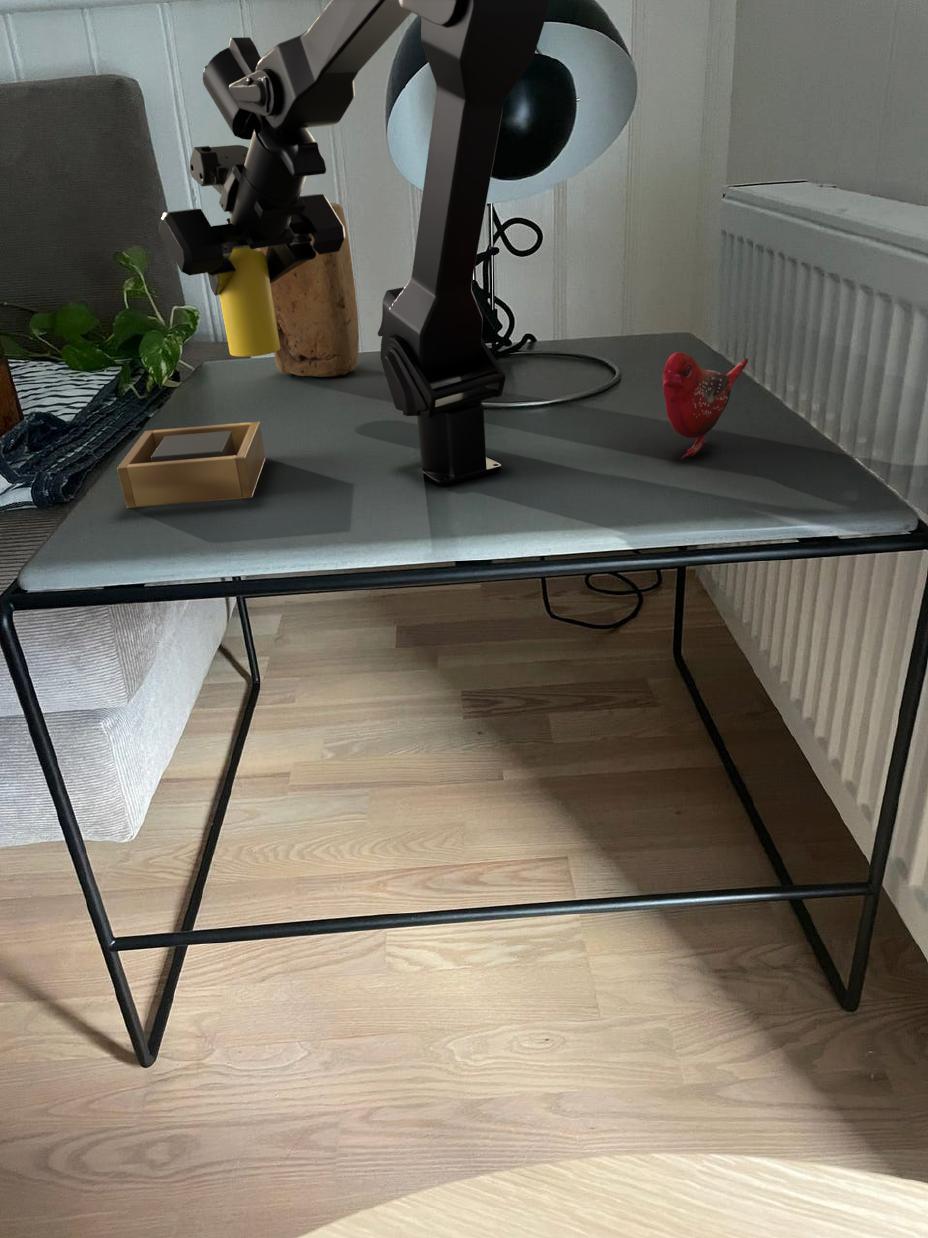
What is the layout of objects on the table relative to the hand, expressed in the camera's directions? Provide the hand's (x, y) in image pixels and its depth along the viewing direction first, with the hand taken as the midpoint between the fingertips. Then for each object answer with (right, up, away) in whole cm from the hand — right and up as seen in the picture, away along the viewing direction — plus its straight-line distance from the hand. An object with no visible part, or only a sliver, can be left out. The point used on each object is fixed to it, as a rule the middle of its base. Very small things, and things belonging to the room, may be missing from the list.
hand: (239, 287), depth 104 cm
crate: (+1, -25, -19) cm, 31 cm away
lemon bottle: (+1, -6, +2) cm, 7 cm away
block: (+6, -5, +18) cm, 20 cm away
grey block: (+1, -24, -19) cm, 31 cm away
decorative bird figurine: (+47, -21, -17) cm, 54 cm away
